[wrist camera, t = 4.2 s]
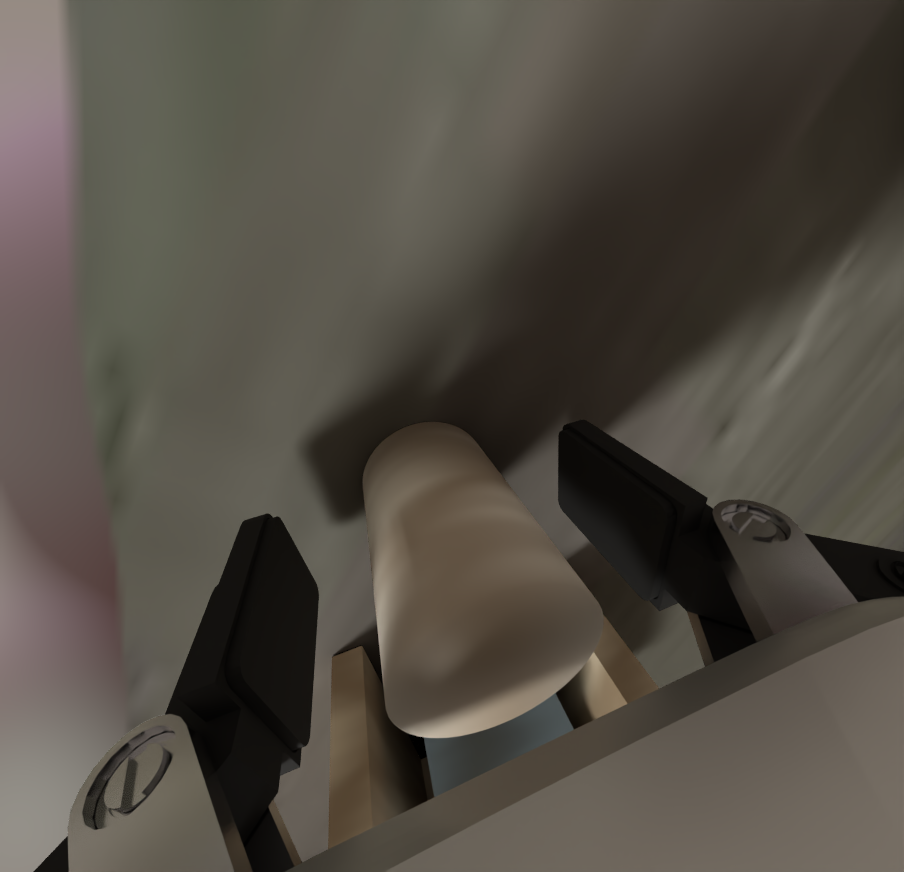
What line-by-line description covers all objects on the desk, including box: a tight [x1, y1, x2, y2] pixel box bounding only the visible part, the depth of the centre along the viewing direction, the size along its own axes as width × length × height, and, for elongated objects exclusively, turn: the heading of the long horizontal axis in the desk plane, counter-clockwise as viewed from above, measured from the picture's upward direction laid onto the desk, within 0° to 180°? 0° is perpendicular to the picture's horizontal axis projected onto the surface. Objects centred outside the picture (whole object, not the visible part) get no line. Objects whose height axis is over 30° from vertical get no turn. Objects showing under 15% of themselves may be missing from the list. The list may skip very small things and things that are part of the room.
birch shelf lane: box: [328, 615, 659, 849], centre depth 15 cm, size 11×13×7 cm
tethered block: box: [362, 422, 604, 797], centre depth 12 cm, size 5×18×6 cm, turn 9°
